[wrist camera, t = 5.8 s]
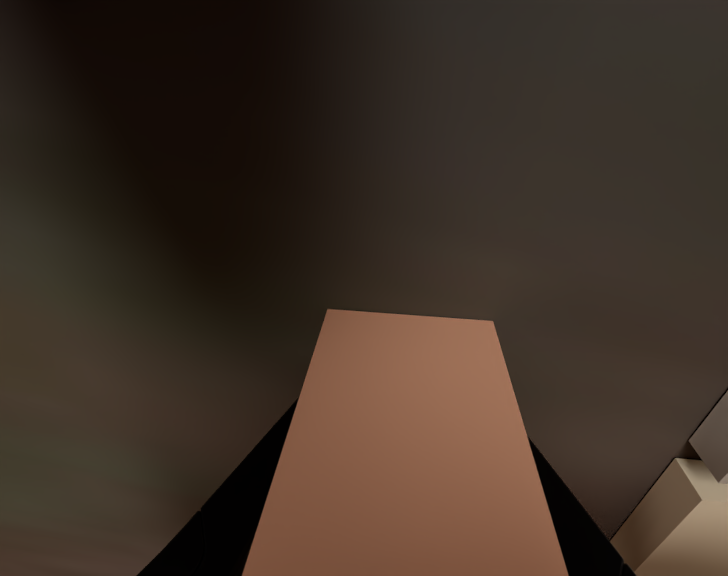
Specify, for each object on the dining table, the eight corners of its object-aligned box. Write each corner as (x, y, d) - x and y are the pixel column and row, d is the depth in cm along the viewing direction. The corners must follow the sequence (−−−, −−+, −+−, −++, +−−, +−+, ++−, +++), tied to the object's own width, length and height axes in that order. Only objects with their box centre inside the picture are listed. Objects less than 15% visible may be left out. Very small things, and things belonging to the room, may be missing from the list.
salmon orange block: (466, 427, 11) (511, 742, 6) (333, 415, 11) (271, 703, 6) (493, 321, 9) (598, 673, 4) (327, 308, 9) (227, 619, 4)
